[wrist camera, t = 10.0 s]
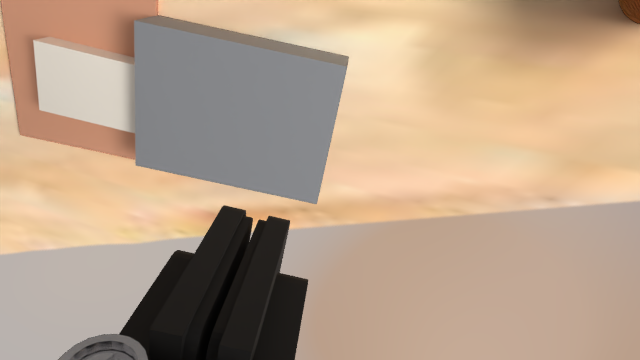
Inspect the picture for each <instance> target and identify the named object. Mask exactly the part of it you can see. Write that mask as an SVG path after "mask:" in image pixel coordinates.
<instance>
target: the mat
mask: <svg viewBox="0 0 640 360" xmlns="http://www.w3.org/2000/svg"><path fill="white" fill-rule="evenodd" d="M1 7H2V14H3V21H4V27H5V34H6V41H7V48H8V55H9V62H10V68H11V75H12V82H13V89H14V96H15V103H16V109H17V116H18V123H19V130H20V135H23V136H27V137H32V138H37V139H41V140H46V141H51V142H55V143H60V144H65V145H69V146H74V147H79V148H83V149H88V150H93V151H97V152H102V153H107V154H111V155H116V156H121V157H125V158H130V159H135V160H136V150H135V133H131V132H127V131H123V130H119V129H115V128H111V127H107V126H103V125H99V124H94V123H90V122H86V121H82V120H78V119H74V118H70V117H66V116H62V115H57V114H53V113H49V112H45V111H41V110H39V99H38V88H37V77H36V66H35V54H34V43H33V40H36V39H41V38H45V37H54V38H58V39H62V40H66V41H70V42H74V43H78V44H82V45H86V46H90V47H94V48H98V49H102V50H106V51H110V52H114V53H118V54H122V55H126V56H130V57H134V58H135V53H134V20H138V19H143V18H147V17H152V16H156V15H158V0H1Z"/></svg>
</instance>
